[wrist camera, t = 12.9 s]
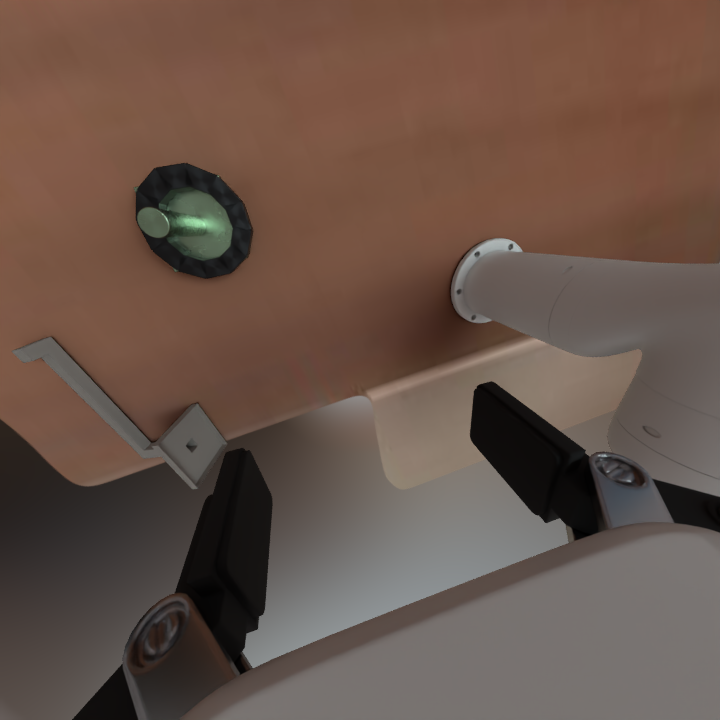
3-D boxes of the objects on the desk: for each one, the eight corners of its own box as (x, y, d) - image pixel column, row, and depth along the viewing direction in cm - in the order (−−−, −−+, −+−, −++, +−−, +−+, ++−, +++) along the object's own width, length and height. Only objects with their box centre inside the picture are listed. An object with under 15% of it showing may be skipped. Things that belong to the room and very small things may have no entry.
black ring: (229, 160, 26) (225, 155, 24) (265, 263, 30) (264, 265, 29) (121, 178, 24) (110, 174, 23) (177, 284, 29) (171, 286, 28)
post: (220, 176, 27) (184, 145, 17) (248, 257, 31) (232, 268, 21) (137, 188, 26) (50, 162, 16) (177, 271, 29) (126, 289, 20)
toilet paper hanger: (70, 327, 32) (-9, 359, 25) (130, 312, 30) (61, 341, 23) (178, 449, 43) (142, 493, 36) (227, 444, 41) (198, 488, 34)
